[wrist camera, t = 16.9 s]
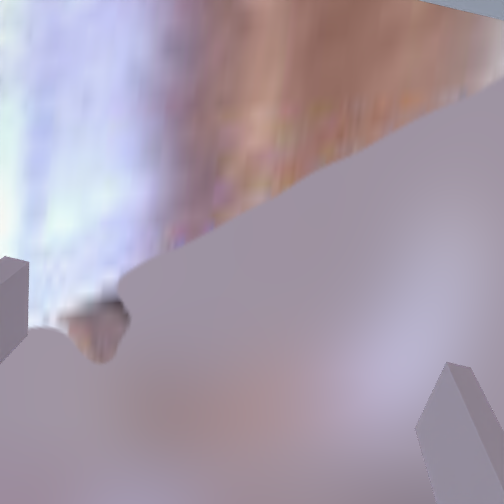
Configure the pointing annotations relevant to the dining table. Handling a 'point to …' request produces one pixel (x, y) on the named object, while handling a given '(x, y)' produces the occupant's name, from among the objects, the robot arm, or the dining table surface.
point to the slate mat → (475, 6)
